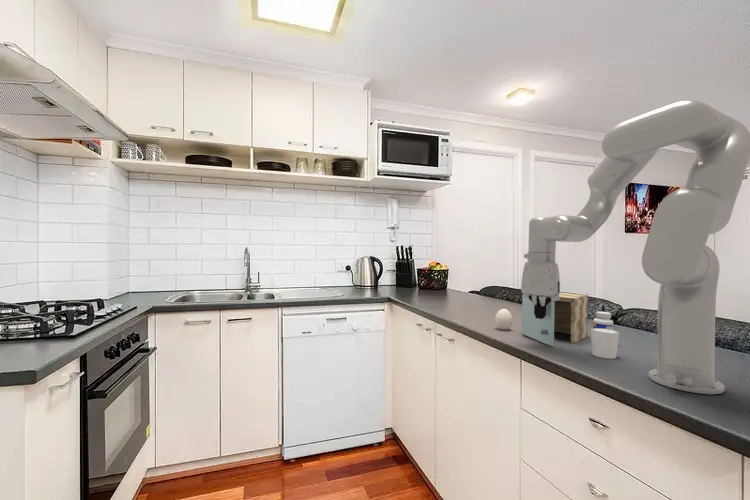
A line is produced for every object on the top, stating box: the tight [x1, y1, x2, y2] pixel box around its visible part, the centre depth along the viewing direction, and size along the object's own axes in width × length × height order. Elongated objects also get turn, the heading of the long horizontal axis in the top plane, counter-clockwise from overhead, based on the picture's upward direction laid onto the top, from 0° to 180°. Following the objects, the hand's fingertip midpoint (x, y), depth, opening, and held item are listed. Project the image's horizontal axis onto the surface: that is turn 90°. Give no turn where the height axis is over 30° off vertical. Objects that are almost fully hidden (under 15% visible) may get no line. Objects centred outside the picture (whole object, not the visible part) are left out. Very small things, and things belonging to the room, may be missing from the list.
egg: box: [494, 308, 514, 331], centre depth 130 cm, size 6×6×8 cm
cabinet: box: [539, 291, 589, 344], centre depth 121 cm, size 14×16×14 cm
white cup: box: [589, 327, 620, 360], centre depth 99 cm, size 7×7×7 cm
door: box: [521, 296, 555, 347], centre depth 114 cm, size 2×15×14 cm, turn 10°
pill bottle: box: [592, 311, 614, 330], centre depth 112 cm, size 5×5×10 cm
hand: (539, 317), depth 108 cm, fingers closed
